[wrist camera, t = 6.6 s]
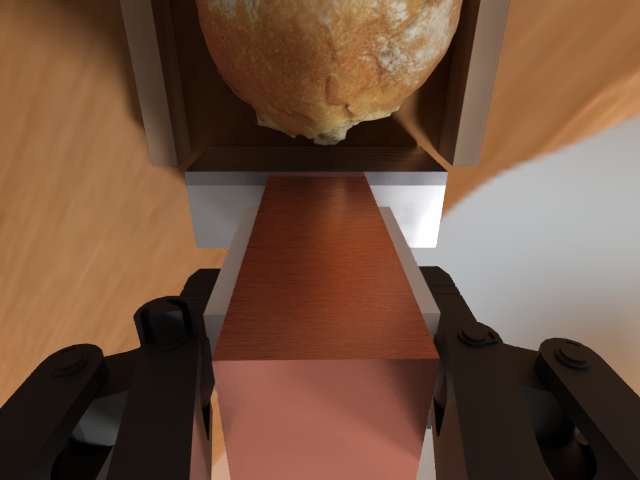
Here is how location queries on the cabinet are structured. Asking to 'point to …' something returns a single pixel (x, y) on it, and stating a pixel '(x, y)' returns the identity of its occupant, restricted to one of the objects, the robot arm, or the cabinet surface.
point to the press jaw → (321, 308)
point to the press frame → (168, 101)
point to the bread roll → (326, 57)
